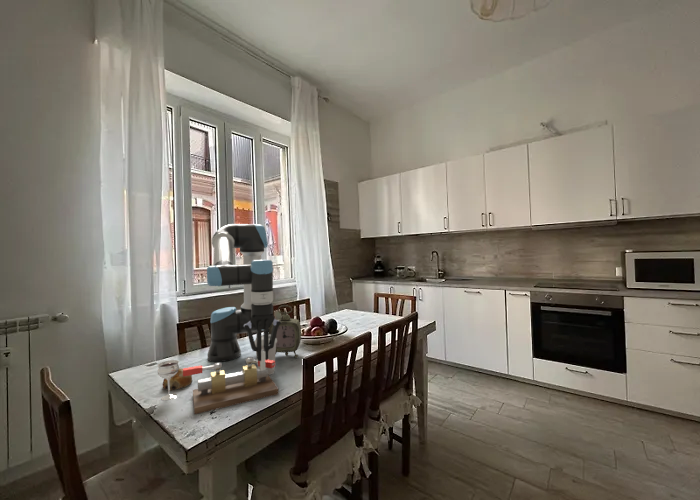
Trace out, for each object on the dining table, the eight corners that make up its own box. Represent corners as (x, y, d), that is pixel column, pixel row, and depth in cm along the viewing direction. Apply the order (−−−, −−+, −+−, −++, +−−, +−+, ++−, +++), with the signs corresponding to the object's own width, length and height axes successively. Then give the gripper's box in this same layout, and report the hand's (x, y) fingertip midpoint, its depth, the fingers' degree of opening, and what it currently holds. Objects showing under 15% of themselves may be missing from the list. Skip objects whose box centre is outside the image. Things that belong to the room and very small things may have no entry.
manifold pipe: (197, 391, 111) (197, 370, 111) (265, 377, 123) (265, 358, 122) (198, 397, 107) (197, 375, 107) (268, 381, 119) (268, 361, 119)
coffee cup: (271, 378, 127) (271, 341, 127) (250, 376, 129) (249, 340, 128) (281, 368, 136) (280, 334, 136) (261, 367, 138) (260, 333, 138)
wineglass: (154, 398, 111) (153, 364, 111) (173, 391, 117) (173, 358, 117) (164, 403, 107) (163, 368, 107) (183, 395, 113) (182, 362, 113)
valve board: (192, 395, 113) (192, 389, 113) (268, 379, 126) (268, 374, 126) (194, 414, 100) (194, 408, 100) (278, 394, 112) (278, 388, 112)
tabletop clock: (268, 360, 147) (267, 307, 147) (273, 353, 156) (272, 303, 156) (299, 359, 147) (298, 306, 147) (302, 353, 156) (301, 303, 156)
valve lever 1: (221, 367, 114) (221, 361, 114) (222, 369, 112) (221, 364, 112) (183, 374, 108) (182, 368, 108) (182, 376, 106) (182, 370, 106)
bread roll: (193, 393, 122) (201, 372, 125) (169, 392, 114) (178, 369, 117) (178, 388, 127) (186, 367, 130) (154, 386, 119) (163, 364, 122)
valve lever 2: (244, 364, 117) (244, 358, 117) (249, 361, 119) (249, 356, 119) (271, 368, 112) (270, 363, 112) (275, 366, 114) (275, 360, 114)
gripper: (245, 306, 105) (245, 376, 105) (283, 303, 111) (283, 369, 111) (241, 303, 112) (242, 368, 112) (277, 300, 118) (277, 362, 118)
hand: (262, 369), depth 112 cm, fingers closed
